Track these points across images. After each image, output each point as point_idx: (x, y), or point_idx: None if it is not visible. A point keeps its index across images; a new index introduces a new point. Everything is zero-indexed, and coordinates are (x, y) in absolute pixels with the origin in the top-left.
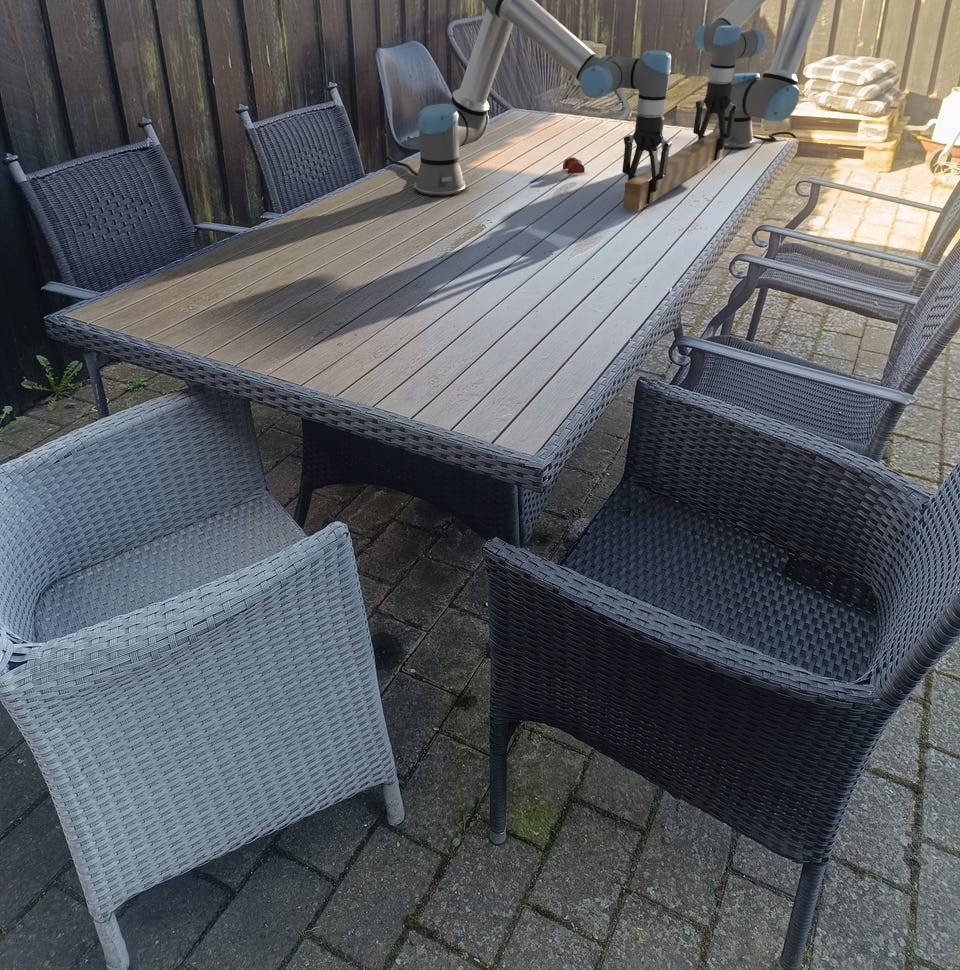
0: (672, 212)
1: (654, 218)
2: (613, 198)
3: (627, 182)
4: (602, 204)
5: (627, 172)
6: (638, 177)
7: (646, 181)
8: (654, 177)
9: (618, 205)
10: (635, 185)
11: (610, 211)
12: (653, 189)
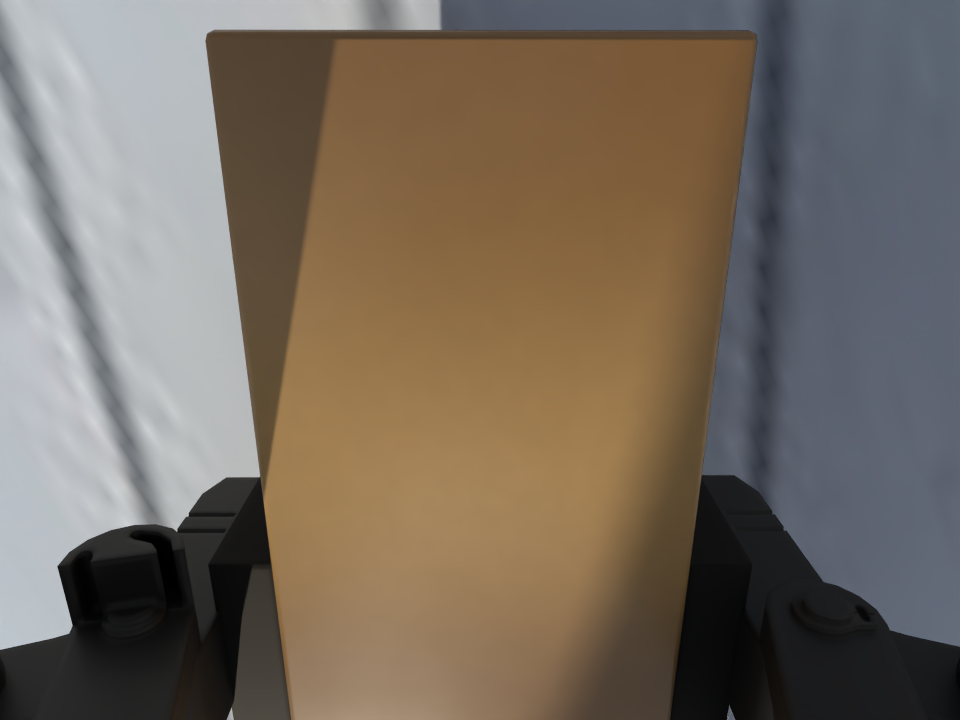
0: (117, 461)
1: (154, 141)
2: (879, 551)
3: (687, 47)
4: (950, 299)
5: (925, 671)
6: (583, 617)
7: (261, 432)
8: (117, 640)
9: (753, 367)
10: (398, 31)
11: (774, 87)
12: (239, 502)
